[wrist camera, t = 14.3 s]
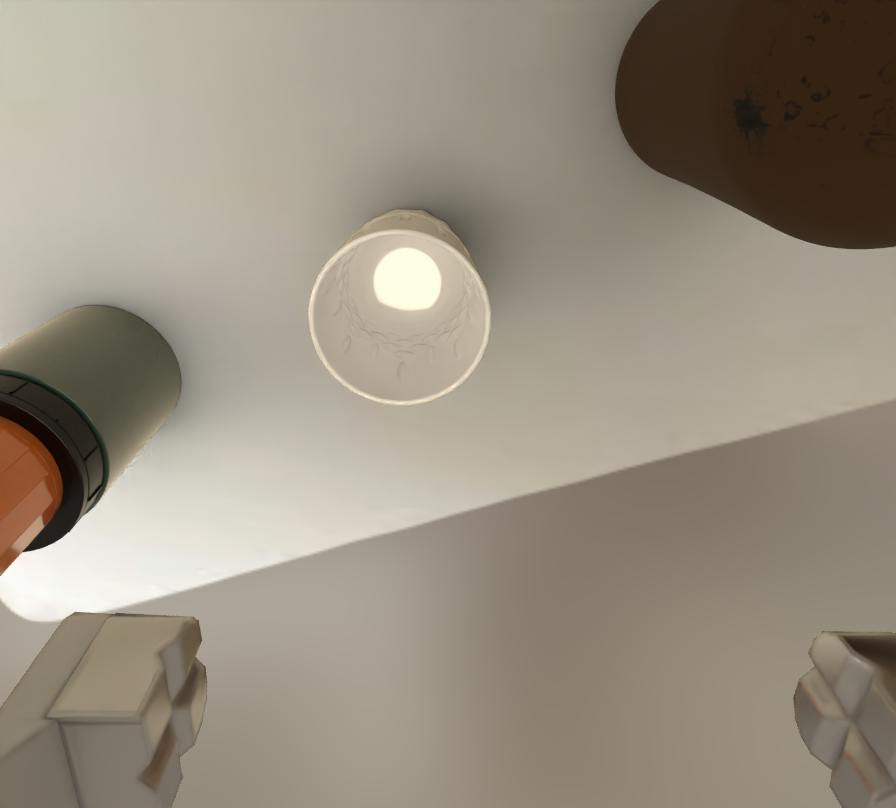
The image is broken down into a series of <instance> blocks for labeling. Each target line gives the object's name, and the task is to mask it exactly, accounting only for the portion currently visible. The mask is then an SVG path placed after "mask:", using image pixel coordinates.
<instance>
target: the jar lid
mask: <svg viewBox="0 0 896 808" xmlns="http://www.w3.org/2000/svg"><path fill="white" fill-rule="evenodd" d="M0 416H1V417H4V418H6V419H9V420H11V421H13V422H15V423H17V424H19V425H20V426H22V427H23V428H25V429H26V430H28V431H29V432H30V433H32V434H33V435H34V436H35V437H37V438H38V439H39V440H40V441H41V442H42V443H43V444H44V446H45V447H46V448H47V449H48V450H49V452H50V453H51V455H52V456H53V458H54V459H55V461H56V463H57V466H58V468H59V471H60V474H61V477H62V483H63V495H62V501H61V504H60V507H59V509H58V510H57V512H56V514H55V515H54V516H53V518H52V519H51V521H50V522H49V523H48V524H47V525H46V526H45V527H44V528H43V529H42V530H41V532H40V533H39V534H38V535H37V536H36V537H35V538H34V539H33V540H32V542H31V543H30V544H29V545H28V546H27V547H26V548H25V549H24V550H23V552H27V551H33V550H37V549H40V548H43V547H46V546H48V545H50V544H53V543H54V542H56V541H58V540H59V539H61V538H62V537H63V536H64V535H66V534H67V533H68V532H70V531H71V529H72V528H73V527H74V526H75V525H76V523H77V522H78V521H79V520H80V519H81V517H82V516H83V514H84V513H85V512H86V511H87V509H88V508H89V507H90V506H91V505H92V503H93V502H94V501H95V499H96V497H97V495H98V493H99V491H100V489H101V488H102V487H103V485H102V479H103V461H102V455H101V452H100V449H99V448H100V446H99V445H98V443H97V441H96V439H95V436H94V435H93V433H92V431H91V430H90V428H89V426H88V425H87V424H86V423H85V421H84V420H83V419H82V417H81V416H80V415H79V414H78V413H77V412H76V411H75V410H74V409H73V407H71V406H69V405H68V404H67V403H66V402H65V401H63V400H62V399H61V398H59V397H58V396H56V395H55V394H53V393H52V392H50V391H48V390H46V389H44V388H42V387H40V386H38V385H36V384H33V383H31V382H28V380H22V379H18V378H15V377H9V376H4V375H0Z"/></svg>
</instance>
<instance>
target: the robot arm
mask: <svg viewBox="0 0 896 808" xmlns="http://www.w3.org/2000/svg"><path fill="white" fill-rule="evenodd" d="M201 641H202V637H201V632H200V626H199V621H198V620H197V619H196V618H194V617H186V616H185V617H184V616H166V615H144V614H123V613H115V614H103V613H85V612H75V613H73V614H71V615H70V616H68V617H66V618H65V619H64V620H63V621H62V622H61V624H60V625H59V627H58V628H57V629H56V631H55V632H54V634H53V635H52V636H51V638H50V639H49V641H48V642H47V643H46V645H45V646H44V648H43V649H42V650H41V652H40V653H39V655H38V656H37V657H36V659H35V660H34V662H33V663H32V664H31V666H30V667H29V669H28V670H27V671H26V673H25V674H24V676H23V677H22V678H21V680H20V681H19V683H18V684H17V686H16V687H15V688H14V690H13V691H12V692H11V694H10V695H9V697H8V698H7V700H6V701H5V702H4V704H3V705H2V707H1V708H0V808H172V805H173V802H174V800H175V797H176V794H177V792H178V789H179V786H180V784H181V781H182V770H181V763H180V757H181V756H182V755H183V754H184V753H186V752H187V751H188V750H189V749H190V748H191V747H193V746H194V745H195V742H196V739H197V736H198V734H199V731H200V728H201V725H202V721H203V716H204V710H205V705H206V700H207V676H206V668H205V666H204V665H203V664H202V663H201V662H200V661H199V660H198V659H197V658H196V657H195V656H196V654H197V651H198V649H199V646H200V644H201ZM809 656H810V658H811V659H812V661H813V663H814V665H815V667H813V668H812V669H811V670H810V671H808V672H807V673H806V674H805V675H803V676H802V677H801V678H800V679H799V681H798V685H797V688H796V691H795V695H794V711H795V720H796V723H797V726H798V729H799V732H800V735H801V737H802V739H803V741H804V743H805V745H806V746H807V748H808V750H809V752H810V753H811V754H812V755H813V756H814V757H816V758H817V759H818V760H819V761H821V762H822V763H823V764H825V765H826V766H827V767H829V768H830V769H831V770H832V773H831V780H830V788H831V790H832V791H833V793H834V794H835V796H836V798H837V800H838V801H839V803H840V805H841V806H842V808H896V633H892V632H841V631H840V632H839V631H822V632H821V633H820V634H819V635H818V636H817V637H816V638H815V639H814V640H813V643H812V645H811V648H810V651H809Z"/></svg>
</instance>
